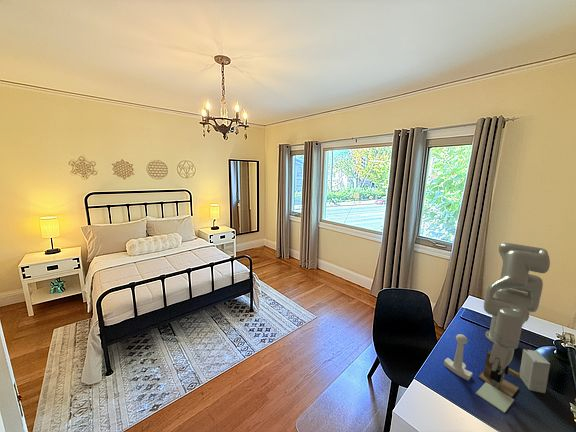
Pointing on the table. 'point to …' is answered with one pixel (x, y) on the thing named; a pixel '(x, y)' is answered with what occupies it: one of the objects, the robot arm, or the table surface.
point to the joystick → (459, 359)
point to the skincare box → (534, 370)
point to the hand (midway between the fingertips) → (498, 375)
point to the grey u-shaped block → (501, 378)
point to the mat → (495, 397)
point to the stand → (503, 386)
